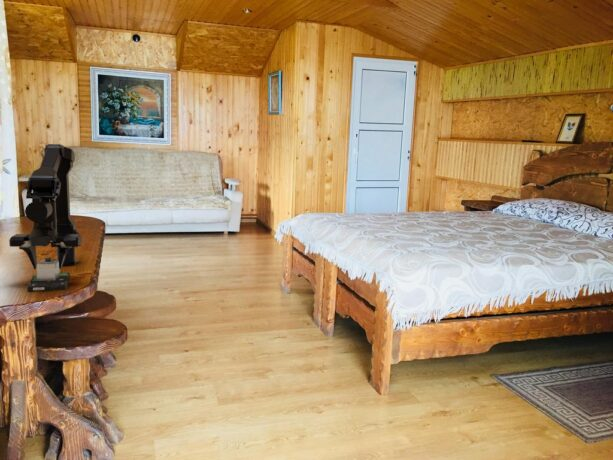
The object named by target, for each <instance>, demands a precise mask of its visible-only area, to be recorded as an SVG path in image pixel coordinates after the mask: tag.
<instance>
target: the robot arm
mask: <svg viewBox="0 0 613 460" xmlns="http://www.w3.org/2000/svg"><path fill="white" fill-rule="evenodd" d="M43 149H44V151H43V152H44V154H43V158H42V161H41V163H40V166H39V168H37V169H35V170H33V172H32V173H31V175H30V177H28V181H27V186H26V187H27V188H26V195H25V199H29V200H30V199H31V202H29V203H28V204H27V205H26V206H25V209H24V213H25V216H26V219H28V220H29V221H31V222H33V227H32V230H30V233H16V234H14V235H12V236H11V237H10V238H9V241H8V242H9V247H13V248H14V247H16V248H17V247H18V249H19V250H23V251H24V252H25V254H26V256H28V259H29V261H30V263H31V265H32V268H33V269H34V270H37V264H38V260H37V258H38V257H37V247H47V246H49V245H50V246H51V248H56V259H57V261H59V269H62V268H63V266H74V265H76V264H77V263H78V262H79V259H76V248H78V247H81V246H82V243H83V236H82V235H81V234H80V233H79V231H78V229H77V225H76V221H74V219H72V217H71V204H70V202H71V201H70V200H71V199H70V181H69V180H70V179H69V178H70V176H69V175H70V173H71V171H72V170H73V167H74V163H75V161H76V160H75V159H76V154H75V151H74V150H73V149H72V148H70V147H66V146H64V145H63V144H58V143H57V144H56V143H55V144H54V143H48V144H46V145H45V147H44V148H43Z"/></svg>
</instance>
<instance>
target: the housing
mask: <svg viewBox="0 0 613 460" xmlns="http://www.w3.org/2000/svg"><path fill="white" fill-rule="evenodd" d="M60 273H61V271H60V269H59V261H57V258H52V257H49V256H48V257H47V256H46V257H45V258H42V259H41V260H39V261H38V262H37V268H36V274H37V281H56V280H57V279H58V278H59V277H60Z"/></svg>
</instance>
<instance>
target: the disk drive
mask: <svg viewBox="0 0 613 460" xmlns="http://www.w3.org/2000/svg"><path fill="white" fill-rule="evenodd" d="M70 273H71V272H60V277H59V278H58V279H57V280H56V281H37V273H36V274H34V275H32V278H31V279H30V281H29V282H28V284H27V292H28V293H35V292H36V293H37V292H50V291H51V292H53V290H57V291H67V289H68V284H69V281H70V277H71V276H70V275H71V274H70Z"/></svg>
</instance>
